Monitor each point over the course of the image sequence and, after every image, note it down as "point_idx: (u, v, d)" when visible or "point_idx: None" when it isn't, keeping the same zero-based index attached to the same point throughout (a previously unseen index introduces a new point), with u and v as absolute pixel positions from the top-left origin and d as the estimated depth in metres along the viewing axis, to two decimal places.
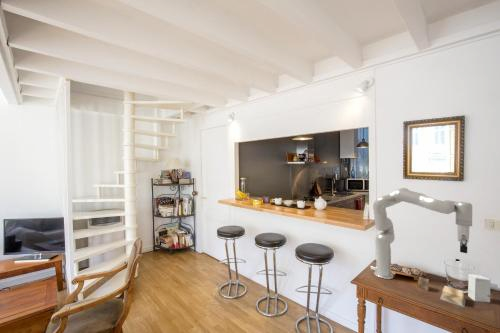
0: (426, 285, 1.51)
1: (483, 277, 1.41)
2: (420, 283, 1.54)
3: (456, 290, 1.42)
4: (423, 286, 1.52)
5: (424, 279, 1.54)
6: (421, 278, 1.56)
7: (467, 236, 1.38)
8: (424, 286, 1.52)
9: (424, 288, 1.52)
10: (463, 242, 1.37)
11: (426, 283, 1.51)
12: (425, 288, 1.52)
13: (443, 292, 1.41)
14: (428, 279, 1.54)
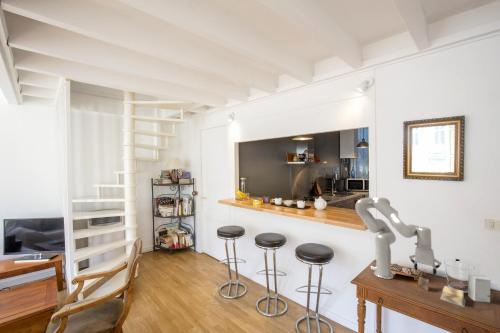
0: (426, 285, 1.51)
1: (483, 277, 1.41)
2: (420, 283, 1.54)
3: (456, 290, 1.42)
4: (423, 286, 1.52)
5: (424, 279, 1.54)
6: (421, 278, 1.56)
7: None
8: (424, 286, 1.52)
9: (424, 288, 1.52)
10: None
11: (426, 283, 1.51)
12: (425, 288, 1.52)
13: (443, 292, 1.41)
14: (428, 279, 1.54)
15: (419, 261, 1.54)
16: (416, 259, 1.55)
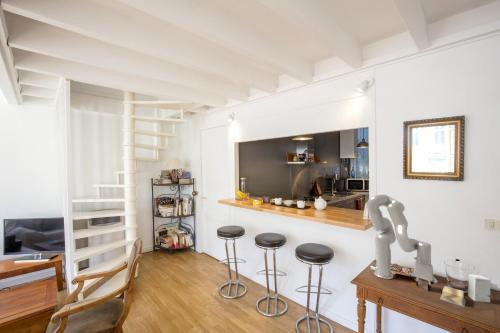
0: (426, 285, 1.51)
1: (483, 277, 1.41)
2: (420, 283, 1.54)
3: (456, 290, 1.42)
4: (423, 286, 1.52)
5: None
6: None
7: None
8: (424, 286, 1.52)
9: (424, 288, 1.52)
10: None
11: (426, 283, 1.51)
12: (425, 288, 1.52)
13: (443, 292, 1.41)
14: None
15: (418, 276, 1.54)
16: (415, 274, 1.56)
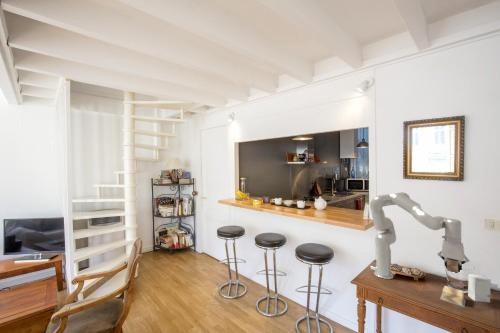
0: (456, 265, 1.38)
1: (483, 277, 1.41)
2: (449, 263, 1.41)
3: (456, 290, 1.42)
4: (453, 266, 1.40)
5: (453, 259, 1.41)
6: None
7: None
8: (454, 266, 1.39)
9: (454, 268, 1.39)
10: None
11: (456, 263, 1.38)
12: (455, 268, 1.39)
13: (443, 292, 1.41)
14: None
15: (447, 255, 1.41)
16: (443, 253, 1.43)
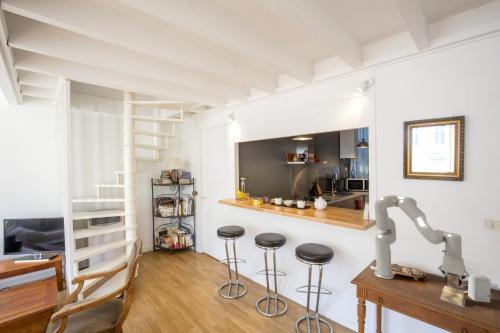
0: (457, 280, 1.38)
1: (483, 277, 1.41)
2: (450, 278, 1.41)
3: (456, 290, 1.42)
4: (454, 281, 1.39)
5: None
6: None
7: None
8: (455, 281, 1.39)
9: (454, 283, 1.39)
10: None
11: (457, 278, 1.38)
12: (456, 283, 1.39)
13: (443, 292, 1.41)
14: None
15: (447, 270, 1.41)
16: (444, 268, 1.43)
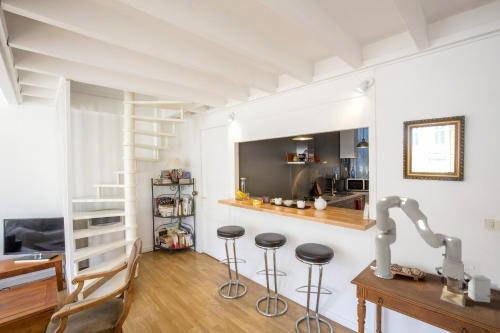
0: (456, 286, 1.39)
1: (483, 277, 1.41)
2: (449, 284, 1.41)
3: None
4: (453, 287, 1.40)
5: (453, 279, 1.41)
6: (450, 278, 1.43)
7: None
8: (454, 287, 1.39)
9: (454, 289, 1.39)
10: (471, 279, 1.36)
11: (456, 284, 1.39)
12: (455, 289, 1.39)
13: (443, 292, 1.41)
14: None
15: (447, 274, 1.41)
16: (443, 271, 1.43)
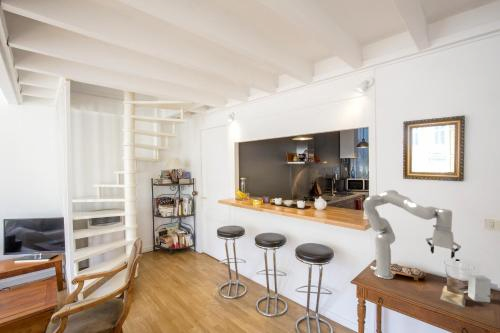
0: (456, 286, 1.39)
1: (483, 277, 1.41)
2: (449, 284, 1.41)
3: None
4: (453, 287, 1.40)
5: (453, 279, 1.41)
6: (450, 278, 1.43)
7: None
8: (454, 287, 1.39)
9: (454, 289, 1.39)
10: (459, 248, 1.42)
11: (456, 284, 1.39)
12: (455, 289, 1.39)
13: (443, 292, 1.41)
14: None
15: (437, 244, 1.47)
16: (434, 242, 1.49)
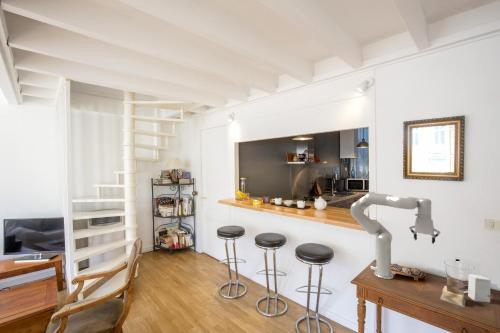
0: (456, 286, 1.39)
1: (483, 277, 1.41)
2: (449, 284, 1.41)
3: None
4: (453, 287, 1.40)
5: (453, 279, 1.41)
6: (450, 278, 1.43)
7: None
8: (454, 287, 1.39)
9: (454, 289, 1.39)
10: None
11: (456, 284, 1.39)
12: (455, 289, 1.39)
13: (443, 292, 1.41)
14: None
15: (419, 231, 1.60)
16: (416, 229, 1.61)
